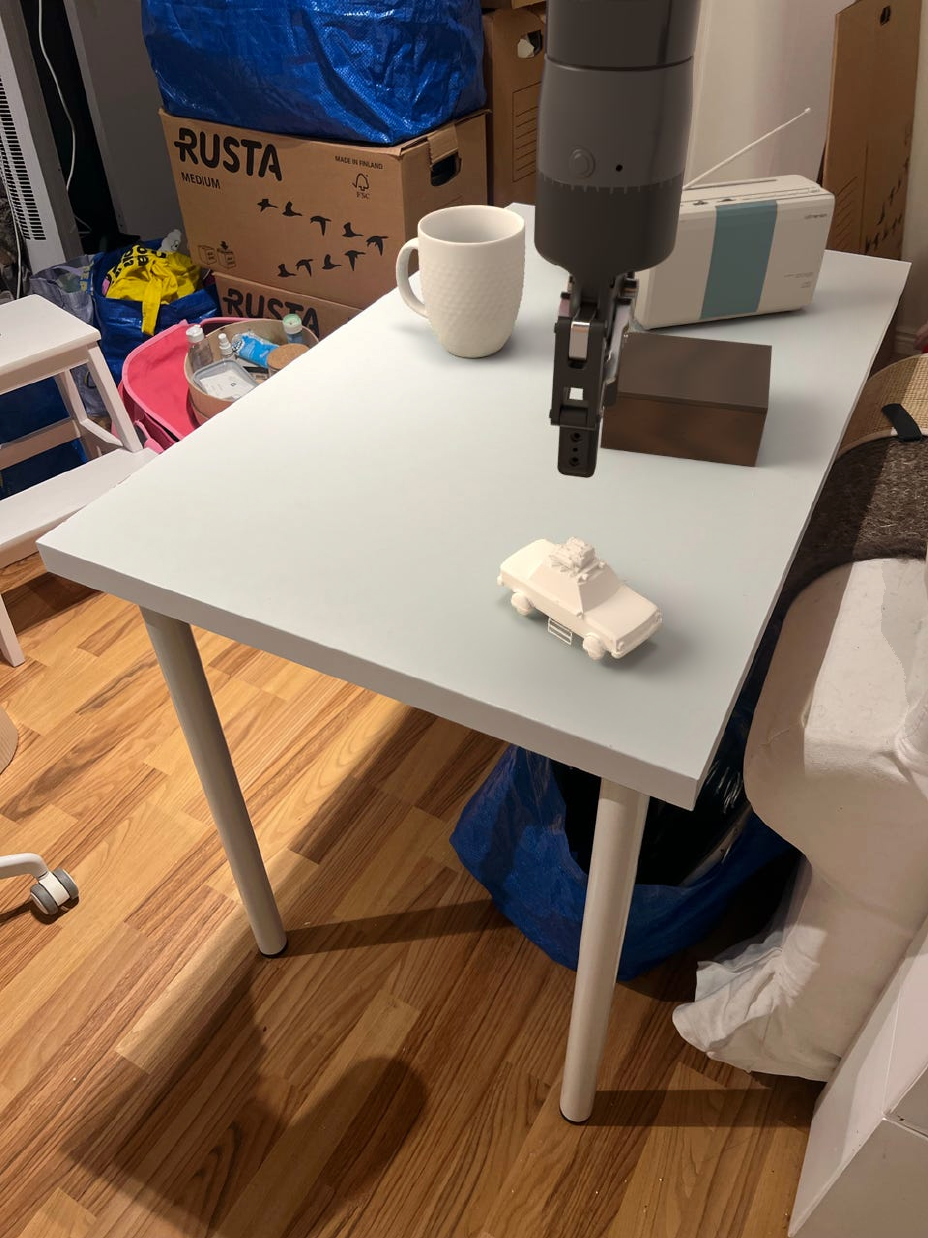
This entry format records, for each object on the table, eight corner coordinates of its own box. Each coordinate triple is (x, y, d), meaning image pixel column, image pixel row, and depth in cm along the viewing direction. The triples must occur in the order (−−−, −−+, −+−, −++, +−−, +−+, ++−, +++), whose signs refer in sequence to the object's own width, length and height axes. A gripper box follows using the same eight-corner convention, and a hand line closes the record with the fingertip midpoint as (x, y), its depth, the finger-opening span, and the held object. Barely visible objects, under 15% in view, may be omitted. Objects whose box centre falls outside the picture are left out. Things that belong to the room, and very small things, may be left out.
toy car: (613, 682, 63) (622, 609, 58) (489, 602, 69) (489, 530, 65) (665, 640, 66) (678, 567, 61) (542, 566, 72) (545, 495, 68)
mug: (375, 346, 101) (364, 225, 92) (427, 309, 108) (421, 193, 99) (493, 376, 96) (493, 250, 87) (540, 334, 103) (544, 214, 94)
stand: (759, 401, 91) (772, 345, 87) (754, 467, 82) (768, 407, 78) (618, 386, 94) (624, 330, 89) (600, 447, 85) (605, 389, 81)
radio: (641, 338, 101) (664, 141, 88) (615, 307, 107) (632, 119, 94) (812, 315, 105) (860, 122, 91) (778, 287, 111) (817, 102, 97)
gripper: (671, 209, 40) (633, 509, 51) (697, 121, 50) (661, 388, 61) (505, 198, 42) (503, 492, 53) (563, 115, 52) (551, 376, 63)
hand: (588, 436), depth 57 cm, fingers open, 8 cm apart
